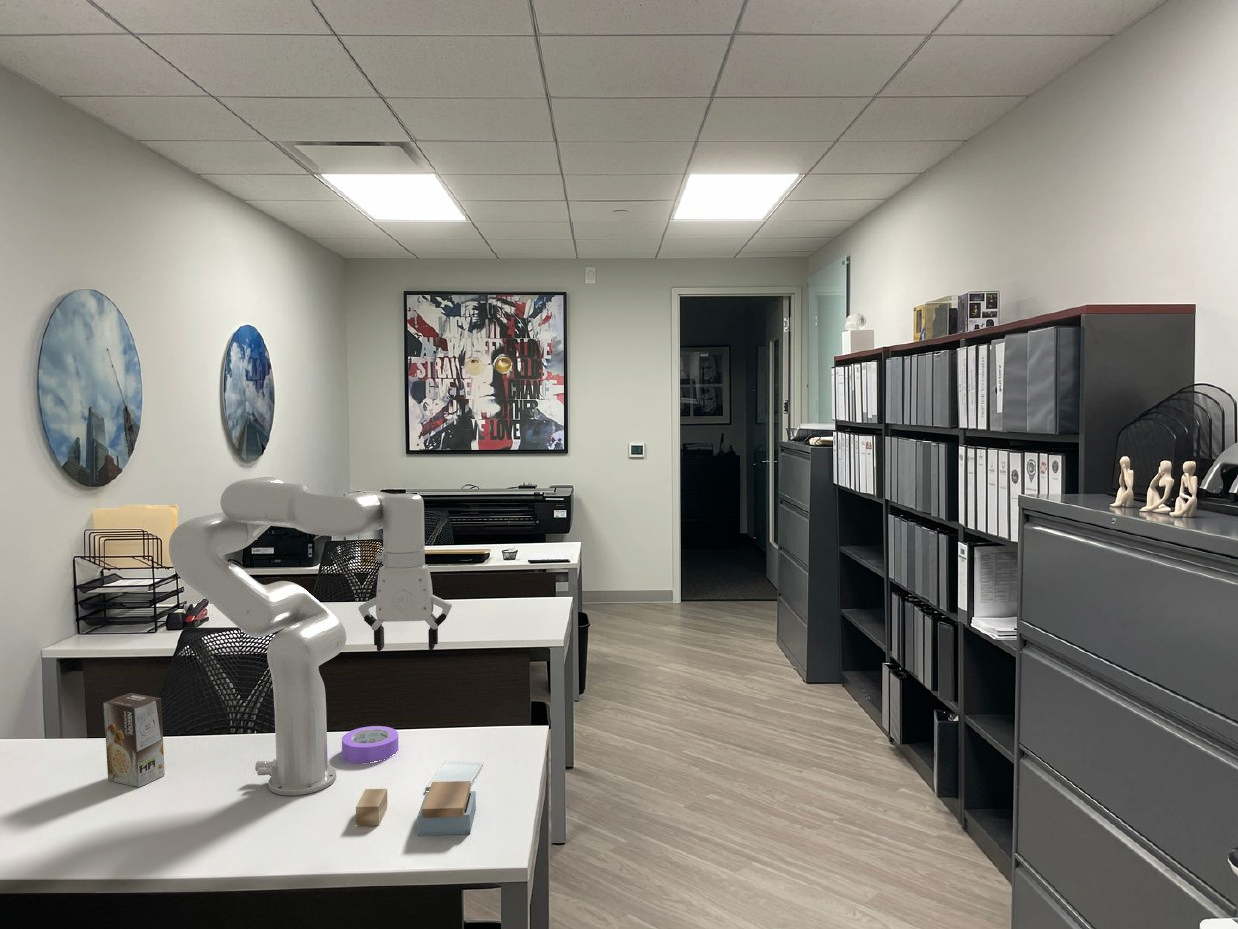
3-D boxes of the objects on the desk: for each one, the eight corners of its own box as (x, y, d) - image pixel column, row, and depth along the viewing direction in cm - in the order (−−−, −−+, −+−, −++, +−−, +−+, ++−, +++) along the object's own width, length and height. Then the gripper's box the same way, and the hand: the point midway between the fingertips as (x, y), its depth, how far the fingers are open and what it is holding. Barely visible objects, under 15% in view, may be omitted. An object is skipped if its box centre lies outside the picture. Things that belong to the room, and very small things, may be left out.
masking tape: (407, 744, 190) (407, 727, 189) (384, 766, 178) (383, 748, 178) (357, 741, 192) (357, 724, 191) (331, 762, 180) (331, 744, 180)
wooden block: (356, 826, 153) (355, 807, 152) (365, 807, 160) (365, 789, 159) (379, 825, 153) (378, 806, 153) (387, 807, 160) (387, 788, 160)
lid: (422, 818, 148) (422, 809, 148) (432, 790, 159) (432, 782, 159) (463, 817, 149) (463, 808, 149) (470, 789, 159) (470, 781, 159)
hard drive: (466, 789, 165) (483, 761, 177) (424, 787, 166) (444, 760, 178) (466, 797, 165) (483, 769, 177) (425, 795, 166) (444, 767, 178)
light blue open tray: (417, 835, 149) (417, 816, 149) (426, 811, 158) (426, 792, 158) (470, 834, 150) (469, 814, 150) (475, 809, 159) (475, 791, 159)
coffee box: (166, 775, 174) (163, 697, 173) (138, 788, 168) (134, 708, 167) (134, 768, 177) (130, 691, 176) (105, 780, 171) (101, 702, 170)
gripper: (352, 564, 158) (355, 655, 159) (447, 562, 159) (449, 653, 160) (362, 556, 165) (364, 644, 167) (453, 555, 166) (455, 642, 168)
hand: (406, 648), depth 163 cm, fingers open, 9 cm apart
